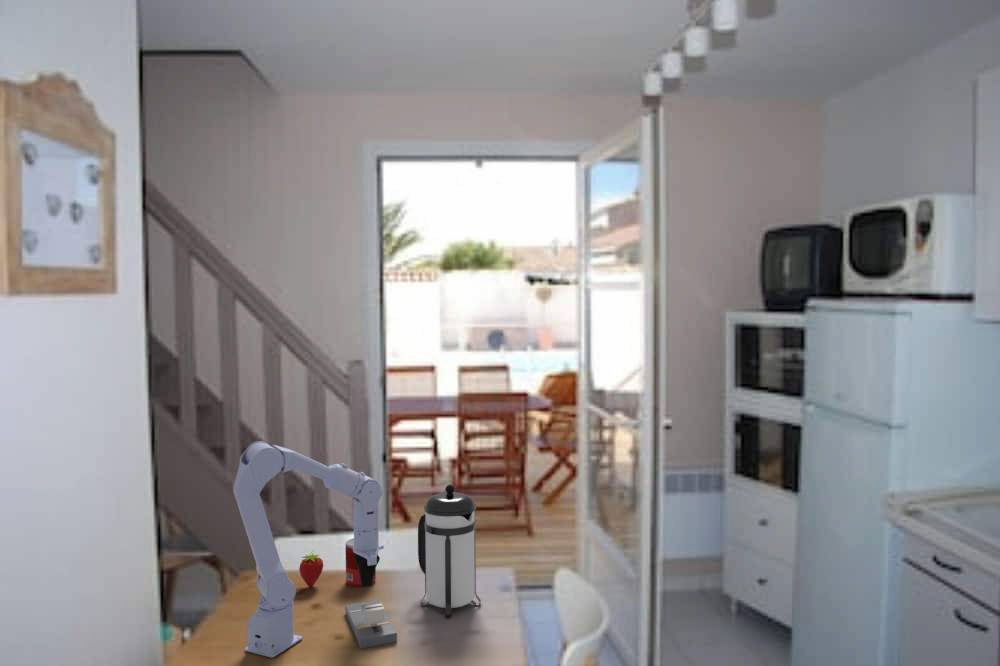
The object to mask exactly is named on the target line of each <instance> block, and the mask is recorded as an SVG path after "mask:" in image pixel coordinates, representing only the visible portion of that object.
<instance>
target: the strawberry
mask: <svg viewBox="0 0 1000 666" xmlns="http://www.w3.org/2000/svg"><path fill="white" fill-rule="evenodd" d="M313 552H314V550H312V551H311V552H310V553H309V555H307V554H306V555H305V556H301V558H303V559H302V560H301V562H300V565H299V573H300V577H301V578H302V580H303V581H304V582H305V584H306V585H307V587H309V588H312V587H314V585H315V583H316V582H317V581H318V580H319V577H320V575H322V572H323V569H324V560H323V559H322V558H321V557H318V556H320V554H314V553H313Z"/></svg>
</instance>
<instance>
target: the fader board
mask: <svg viewBox="0 0 1000 666" xmlns="http://www.w3.org/2000/svg"><path fill="white" fill-rule="evenodd" d="M375 604H382V603H381V602H380V600H379V599H374V600H369V601H362V602H357V603H351V604H345V615H346V618H347V620H348V622H349V625H350V628H351V629H352V632H353V633H354V634H353V635H354V636H355V639H356V641H357V644H358V646H359V648H360V650H361V649H367V648H373V647H378V646H382V645H389V644H393V643H398V633H397V630H396V629H395V627H394V625H393V623H392V622H391V620H390V618H389V616H388V614H387V612H386V610H385V609H384V622H381V623H377V626H373V627H372V626H371V624H370V625H366V623H365V621H364V606H369V605H375Z"/></svg>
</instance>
